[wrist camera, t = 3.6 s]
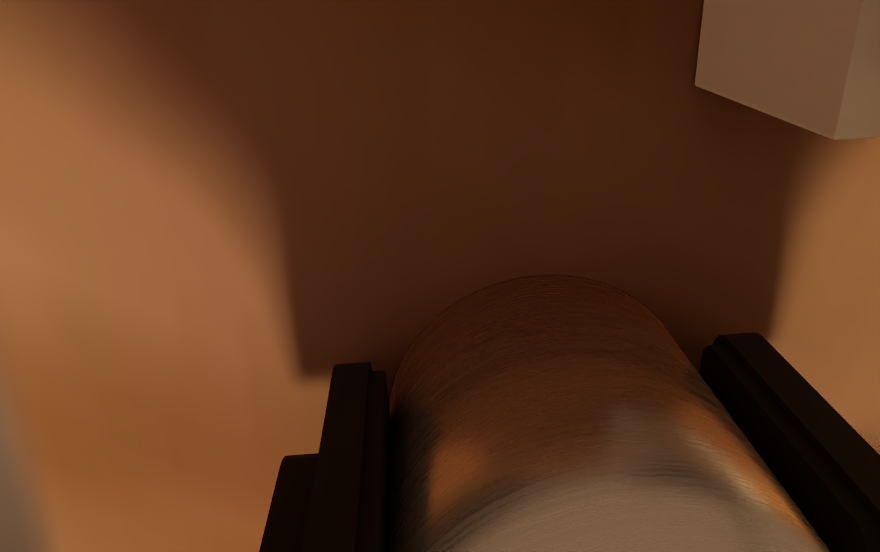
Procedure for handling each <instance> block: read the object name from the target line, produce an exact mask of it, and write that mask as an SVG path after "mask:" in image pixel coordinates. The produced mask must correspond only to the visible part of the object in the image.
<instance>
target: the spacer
mask: <svg viewBox="0 0 880 552" xmlns="http://www.w3.org/2000/svg"><path fill="white" fill-rule="evenodd" d="M387 552H831V551H830V550H829V549H828V547H827V546H826V544H825V543H824V542H823V540H822V539H821V538H820V536H819V535H818V534H817V532H816V531H815V530H814V528H813V527H812V526H811V524H810V523H809V521H808V520H807V519H806V517H805V516H804V515H803V513H802V512H801V511H800V509H799V508H798V507H797V505H796V504H795V503H794V501H793V500H792V499H791V497H790V496H789V494H788V493H787V492H786V490H785V489H784V488H783V486H782V485H781V484H780V482H779V481H778V480H777V478H776V477H775V476H774V474H773V473H772V471H771V470H770V469H769V467H768V466H767V465H766V463H765V462H764V461H763V459H762V458H761V457H760V455H759V454H758V453H757V451H756V450H755V448H754V447H753V446H752V444H751V443H750V442H749V440H748V439H747V438H746V436H745V435H744V434H743V432H742V431H741V430H740V428H739V427H738V425H737V424H736V423H735V421H734V420H733V419H732V417H731V416H730V415H729V413H728V412H727V411H726V409H725V408H724V407H723V405H722V404H721V402H720V401H719V400H718V398H717V397H716V396H715V394H714V393H713V392H712V390H711V389H710V388H709V386H708V385H707V384H706V382H705V381H704V380H703V378H702V377H701V375H700V374H699V373H698V371H697V370H696V369H695V367H694V366H693V365H692V363H691V362H690V361H689V359H688V358H687V357H686V355H685V354H684V352H683V351H682V350H681V348H680V347H679V346H678V344H677V343H676V342H675V340H674V339H673V338H672V336H671V335H670V334H669V332H668V331H667V329H666V328H665V327H664V325H663V324H662V323H661V321H660V320H659V319H658V318H657V317H656V316H655V315H654V314H653V313H652V312H651V311H650V310H649V309H648V308H646V307H645V306H644V305H643V304H641V303H640V302H639V301H637V300H636V299H635V298H633V297H631V296H629V295H627V294H626V293H624V292H622V291H620V290H618V289H616V288H613V287H611V286H608V285H605V284H603V283H600V282H596V281H592V280H588V279H584V278H578V277H569V276H534V277H526V278H519V279H514V280H510V281H507V282H503V283H499V284H495V285H493V286H490V287H488V288H485V289H482V290H480V291H477V292H475V293H473V294H471V295H469V296H468V297H466V298H464V299H462V300H460V301H458V302H457V303H455V304H454V305H452V306H451V307H449V308H448V309H446V310H445V311H444V312H442V313H441V314H440V315H439V316H438V317H436V318H435V319H434V320H433V321H432V322H431V323H430V324H428V325H427V326H426V328H425V329H424V330H423V331H422V332H421V333H420V334H419V336H418V337H417V338H416V339H415V340H414V342H413V343H412V345H411V346H410V348H409V349H408V351H407V352H406V354H405V355H404V357H403V360H402V362H401V364H400V366H399V368H398V370H397V373H396V376H395V380H394V383H393V386H392V392H391V399H390V457H389V499H388V541H387Z"/></svg>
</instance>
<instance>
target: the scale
mask: <svg viewBox="0 0 880 552" xmlns="http://www.w3.org/2000/svg"><path fill="white" fill-rule="evenodd" d="M695 86H697V87H700V88H702V89H705V90H708V91H710V92H713V93H715V94H718V95H720V96H723V97H725V98H728V99H730V100H733V101H736V102H738V103H741V104H743V105H746V106H748V107H751V108H753V109H756V110H758V111H761V112H764V113H766V114H769V115H771V116H774V117H776V118H779V119H781V120H784V121H786V122H789V123H792V124H794V125H797V126H799V127H802V128H804V129H807V130H809V131H812V132H814V133H817V134H820V135H822V136H825V137H827V138H830V139H832V140H843V139H857V138H872V137H880V0H704V6H703V15H702V24H701V33H700V41H699V50H698V59H697V68H696V77H695Z"/></svg>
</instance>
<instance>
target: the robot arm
mask: <svg viewBox="0 0 880 552" xmlns="http://www.w3.org/2000/svg"><path fill="white" fill-rule="evenodd" d="M700 375H701V377H702V378H703V380H704V381H705V382H706V384H707V385H708V386H709V388H710V389H711V390H712V392H713V393H714V394H715V396H716V397H717V398H718V400H719V401H720V402H721V404H722V405H723V407H724V408H725V409H726V411H727V412H728V413H729V415H730V416H731V417H732V419H733V420H734V421H735V423H736V424H737V425H738V427H739V428H740V430H741V431H742V432H743V434H744V435H745V436H746V438H747V439H748V440H749V442H750V443H751V444H752V446H753V447H754V448H755V450H756V451H757V453H758V454H759V455H760V457H761V458H762V459H763V461H764V462H765V463H766V465H767V466H768V467H769V469H770V470H771V471H772V473H773V474H774V476H775V477H776V478H777V480H778V481H779V482H780V484H781V485H782V486H783V488H784V489H785V490H786V492H787V493H788V494H789V496H790V497H791V499H792V500H793V501H794V503H795V504H796V505H797V507H798V508H799V509H800V511H801V512H802V513H803V515H804V516H805V517H806V519H807V520H808V521H809V523H810V524H811V526H812V527H813V528H814V530H815V531H816V532H817V534H818V535H819V536H820V538H821V539H822V540H823V542H824V543H825V544H826V546H827V547H828V549H829V550H830V551H831V552H880V455H879V454H878V453H877V452H876V451H875V450H874V449H873V448H872V447H871V446H870V445H869V444H868V443H867V442H866V441H865V440H864V439H863V438H862V437H861V436H860V435H859V434H858V433H857V432H856V431H855V430H854V429H853V428H852V427H851V426H850V425H849V424H848V423H847V422H846V421H845V420H844V418H843V417H842V416H841V415H840V414H839V413H838V412H837V411H836V410H835V409H834V408H833V407H832V406H831V405H830V404H829V403H828V402H827V401H826V400H825V399H824V398H823V397H822V396H821V395H820V394H819V393H818V392H817V391H816V390H815V389H814V388H813V387H812V386H811V385H810V384H809V383H808V382H807V381H806V380H805V379H804V378H803V377H802V376H801V375H800V374H799V373H798V372H797V371H796V370H795V369H794V368H793V367H792V366H791V365H790V364H789V363H788V362H787V361H786V360H785V359H784V358H783V357H782V356H781V355H780V354H779V353H778V352H777V351H776V350H775V349H774V347H773V346H772V345H771V344H770V343H769V342H768V341H767V340H766V339H765V338H764V337H763V336H761V335H760V334H758V333H742V334H729V335H719V336H718V337H716V339H715V340H714V343H713V345H708V346H706V347H705V348H704V350H703V354H702V360H701V367H700ZM389 457H390V410H389V401H388V391H387V382H386V374H385V370H382V371H372V367H371V363H370V362H363V363H350V364H337V365H334V367H333V372H332V378H331V384H330V390H329V395H328V401H327V407H326V413H325V419H324V425H323V431H322V437H321V442H320V448H319V453H316V454H304V455H291V456H285V457H284V458H283V460H282V462H281V465H280V469H279V473H278V477H277V481H276V485H275V489H274V493H273V497H272V502H271V506H270V510H269V514H268V518H267V522H266V526H265V530H264V534H263V538H262V543H261V547H260V551H259V552H387V541H388V499H389Z"/></svg>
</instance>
